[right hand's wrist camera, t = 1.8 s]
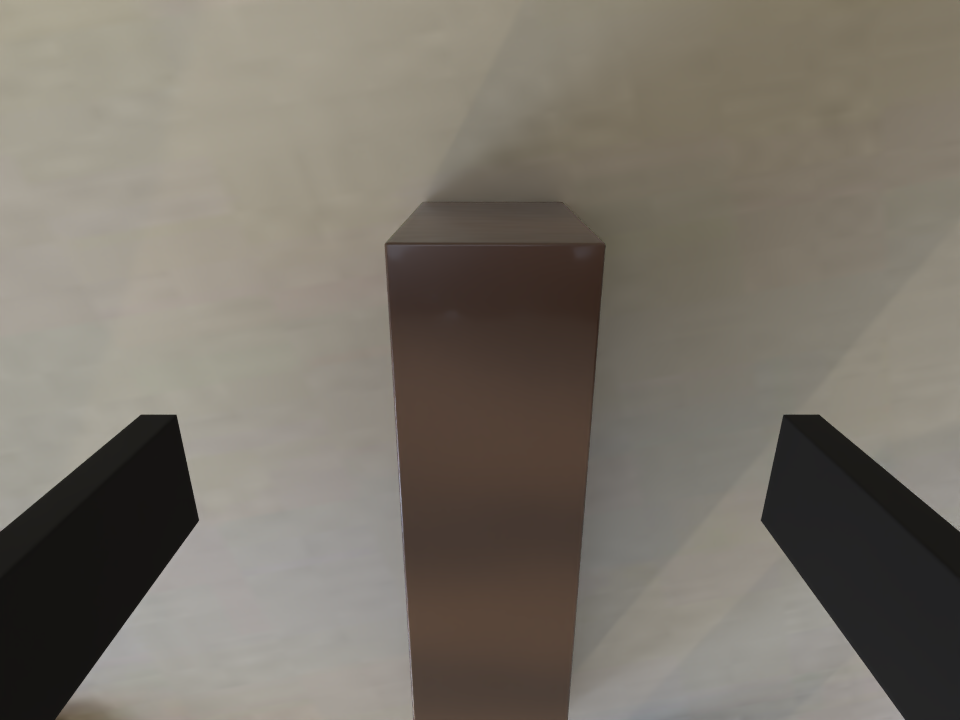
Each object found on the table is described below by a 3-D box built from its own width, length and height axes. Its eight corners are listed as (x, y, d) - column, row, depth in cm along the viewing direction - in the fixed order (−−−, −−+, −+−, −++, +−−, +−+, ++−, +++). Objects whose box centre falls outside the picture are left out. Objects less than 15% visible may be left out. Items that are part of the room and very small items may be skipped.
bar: (422, 201, 21) (383, 242, 13) (563, 202, 20) (606, 242, 13) (440, 717, 30) (424, 910, 23) (536, 718, 30) (552, 912, 23)
